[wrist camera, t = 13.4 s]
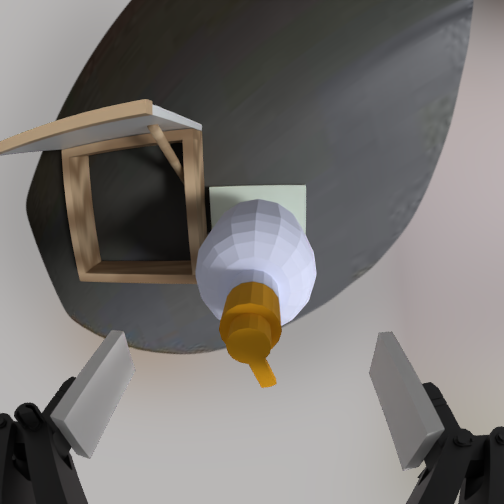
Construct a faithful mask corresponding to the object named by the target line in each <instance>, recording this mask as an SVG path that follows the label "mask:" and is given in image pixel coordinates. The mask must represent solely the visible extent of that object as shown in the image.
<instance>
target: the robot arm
mask: <svg viewBox="0 0 504 504" xmlns="http://www.w3.org/2000/svg"><path fill="white" fill-rule="evenodd" d="M134 372H135V367H134V364H133V361H132V358H131V354H130V351H129V348H128V344H127V341H126V338H125V334H124V331H115V330H111V332H110V333H109V334H108V336H107V337H106V338H105V340H104V341H103V342H102V344H101V345H100V346H99V348H98V349H97V350H96V352H95V353H94V354H93V356H92V357H91V359H90V360H89V361H88V362H87V364H86V365H85V367H84V368H83V369H82V371H81V372H80V373H79V375H78V376H77V378H76V377H71V378H69V379H68V380H67V381H65V382H64V383H63V384H62V386H61V387H60V388H59V391H57V393H56V394H55V396H54V397H53V398H52V400H51V401H50V402H49V404H48V405H47V407H46V408H45V410H44V411H43V412H42V413H41V412H40V410H39V409H38V407H37V406H36V405H35V404H33V403H24V404H22V405H20V406H19V407H18V408H17V409H16V411H15V413H14V417H15V418H16V420H17V421H18V422H15V421H13V420H12V419H11V417H10V416H9V415H8V414H5V413H1V414H0V504H88V502H87V499H86V497H85V495H84V492H83V489H82V486H81V484H80V481H79V478H78V476H77V472H76V469H75V467H74V463H73V460H72V456H71V455H70V453H69V451H70V449H71V447H72V448H73V450H74V451H75V452H76V454H78V455H81V456H83V457H86V458H89V459H90V458H91V456H92V454H93V452H94V450H95V448H96V446H97V444H98V442H99V440H100V438H101V436H102V434H103V432H104V430H105V428H106V426H107V424H108V422H109V420H110V418H111V416H112V414H113V412H114V410H115V408H116V406H117V404H118V402H119V401H120V399H121V396H122V395H123V393H124V391H125V389H126V387H127V385H128V383H129V381H130V380H131V378H132V376H133V374H134ZM369 374H370V377H371V380H372V382H373V385H374V388H375V390H376V393H377V396H378V398H379V401H380V404H381V406H382V410H383V412H384V415H385V417H386V421H387V424H388V427H389V430H390V432H391V435H392V438H393V441H394V444H395V447H396V450H397V454H398V457H399V460H400V463H401V466H402V469H403V471H405V470H408V469H412V468H416V467H419V466H420V464H421V463H422V462H423V460H424V461H425V463H426V468H425V469H424V470H423V471H422V472H421V474H420V475H419V476H418V478H419V480H418V482H417V484H416V486H415V488H414V490H413V492H412V494H411V496H410V498H409V499H408V501H407V503H406V504H454V503H455V500H456V498H457V495H458V493H459V490H460V496H459V503H458V504H504V427H502V426H501V427H496V428H495V429H493V431H492V432H491V433H490V435H479V436H475V435H473V434H472V433H471V432H470V431H468V430H466V429H461V428H460V427H459V425H458V423H457V421H456V419H455V417H454V415H453V414H452V412H451V410H450V408H449V406H448V405H447V403H446V401H445V399H444V398H443V395H442V394H441V392H440V390H439V388H437V387H436V386H435V385H434V384H433V383H431V382H429V383H424V384H422V383H421V382H420V380H419V378H418V376H417V374H416V372H415V371H414V369H413V367H412V365H411V363H410V362H409V360H408V358H407V356H406V355H405V353H404V351H403V349H402V348H401V346H400V344H399V342H398V341H397V339H396V337H395V336H394V334H393V332H382V333H379V334H378V338H377V343H376V348H375V351H374V356H373V360H372V364H371V367H370V372H369ZM460 488H461V489H460Z"/></svg>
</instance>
